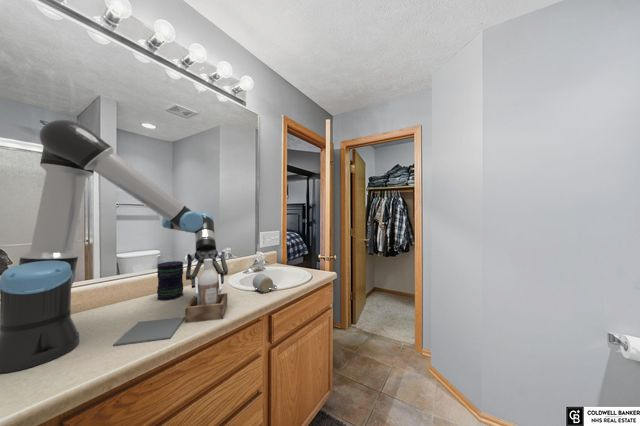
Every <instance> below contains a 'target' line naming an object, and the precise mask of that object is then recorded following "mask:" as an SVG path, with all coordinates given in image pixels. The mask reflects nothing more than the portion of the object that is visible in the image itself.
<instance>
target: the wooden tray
mask: <svg viewBox="0 0 640 426" xmlns="http://www.w3.org/2000/svg"><path fill="white" fill-rule="evenodd" d="M227 309H228V293H226V292H223V293H218V304H210V305H200V306H197V297H195V295H194V296H193V297H192V298H191V299H190V301H188V303H187V305H185V307H184V317H185V319H184V323H186V324H187V323H196V322H203V321H213V320H221V319H222V320H223V319H224V317H225V314H226V311H227Z"/></svg>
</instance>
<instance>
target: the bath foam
mask: <svg viewBox="0 0 640 426" xmlns="http://www.w3.org/2000/svg"><path fill="white" fill-rule="evenodd" d="M213 268H214V266H213V260H212V259H205V260H204V263H203V270H202V272H201V273H200V274H199V276H198V297H197V306H200V305H210V304H218V294H219V288H218V273H217V272H215V271H216V270H215V269H213Z"/></svg>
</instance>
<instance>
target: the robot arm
mask: <svg viewBox="0 0 640 426" xmlns="http://www.w3.org/2000/svg"><path fill="white" fill-rule="evenodd" d="M39 140H40V142H41V145H42V146H43V147H42V152H41V158H40V163H39V166H40V167H41V168H42V169H43V170H44V171H45V177H44V182H43V186H42V192H41V196H40V200H39V201H40V202H39V205H38V206H39V207H38V211H37V215H36V220H35V226H34V230H33V234H32V235H33V236H32V239H31V244H30V249H29V250H28V251H27V252H24V253H23V254H22V255H20V257H19V261H18V265H14V266H10V267H9V268H7V269H5V270H4V271H3V272H2V274H1V276H0V374H4V373H12V372H16V371H20V370H21V371H22V370H25V369H28V368H32V367H34V366H35V367H36V366H39V365H43V364H45V363H47V362H49V361H52V360H55V359H57V358H60V357H61V356H64V355H66V354H68V353H70V352H71V351H72V350H74V349H75V348H76V347H78V346H79V344H80V333H79V331H78V330H77V327H76V324H75V322H74V321H73V319H72V316H71V314H72V313H71V312H72V309H71V308H72V307H71V306H72V303H71V300H72V286H73V284H74V283H75V281H76V272H77V271H76V270H77V266H78V264H77V263H78V258H79V254H77V253H76V252H75V251H74V250H73V249H74V244H75V239H76V234H77V233H76V232H77V228H78V222H79V218H80V213H81V212H80V211H81V208H82V203H83V197H84V190H85V186H86V180H87V179H88V178H90V177H91V176H94V173H96V174H98V175H99V176H101V177H102V178H103V179H105V180H106V181H108V182H109V183H111V184H113V185H114V186H116V187H117V188H119V189H120V190H121V191H123V192H125V194H127V195H129V196H130V197H132V198H134V199H135V200H137V201H138V202H140V203H141V204H143V205H145V206H146V207H147V208H149V209H150V210H151V211H153V212H154V213H155V214H158V215H159V216H161V217H162V221H161V226H162V227H163V228H165V229H169V230H175V231H181V232H185V233H192V234H195V235H194V236H195V252H194V254H190V253H188V254H187V255H186V260H187V266H186V271H185V281H189V280H190V281H191V283H190V284H191V289H195V290H194V291H195V292H194V293H195V295H194V296H195V297H198V278H199V276H198V274H199V271H200V269H201V267H202V265H203V264H204V260H205V259H212V260H213V268H214V271H216V274H217V277H218V294H222V292H223V288H222V285H224V283H225V278H224V277H225V276H227V275H228V273H229V268H228V264H227V261H226V257H225V254H226V253H225V251H222V252H219V251H218V250H217V243H216V235H215V233H216V232H215V222H214V221H215V220H214V218H213V215H212V214H211V213H209V212H196V211H193V210H191V209H190V208H188V207H187V206H186V205H184V203H183V202H180V201H179V200H178V199H177V198H175V197H174V196H172V194H170V193H168V192H167V191H165V189H163V188H161V186H159V185H158V184H156V183H155V182H154V181H152V180H151V179H150V178H148V177H147V176H146V175H144V174H143V173H142V172H140V171H139V170H137V169H136V168H135V167H134V166H132V165H131V164H129V163H128V162H127V161H126V160H124V159H123V158H121V157H120V156H119V155H118V154H116V153H115V152H114V148H113V147H112V146H111V145H110V144H109V143H107V142H106V141H105V140H103V139H102V138H101V137H100V136H98V135H97V134H96V133H94V131H92V130H91V129H89V128H88V127H86V126H85V125H84V124H82V123H78V122H77V121H74V120H73V121H72V120H66V119H57V120H53V121H50V122H47V123H46V124H45V125H43V126H42V127H41V129H40V132H39ZM217 257H218V259H220V264H221V266H220V264H219V262H218V261H217V259H216V258H217ZM194 259H196V261H197V263H196V265H195V268H194V270H193V272H192V274H191V271H192V263H193V261H194ZM221 267H222V268H221Z"/></svg>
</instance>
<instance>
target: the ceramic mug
mask: <svg viewBox="0 0 640 426" xmlns="http://www.w3.org/2000/svg"><path fill="white" fill-rule="evenodd" d="M252 286H253V288H254V289H256V288H257V289H258V290H257V289H256V290H257V291H260V292H261V293H268V292H270V291H271V290H270V289H269V288H272V290H277V287H278V286H277V284H274V281H273V279H272V278H271V277H269V275H266V274H264V273H258V274H256V275H255V276H254V277H253V279H252ZM275 287H276V288H275Z"/></svg>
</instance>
